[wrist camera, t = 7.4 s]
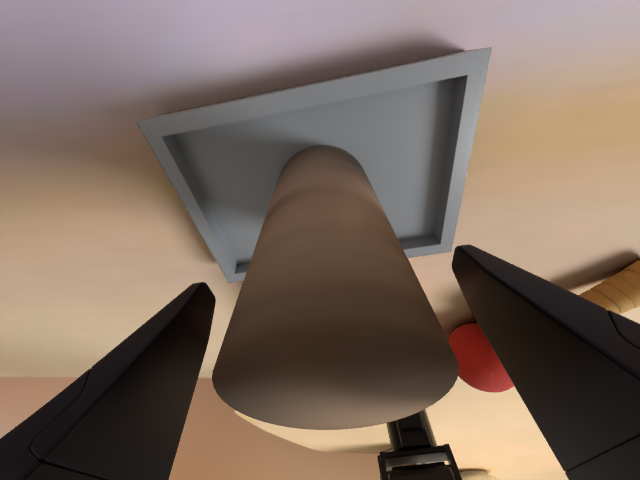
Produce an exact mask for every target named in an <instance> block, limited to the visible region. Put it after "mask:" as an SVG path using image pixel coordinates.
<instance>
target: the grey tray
mask: <svg viewBox="0 0 640 480" xmlns="http://www.w3.org/2000/svg"><path fill="white" fill-rule="evenodd" d="M491 49H492V47H491V48H484V49H476V50H468V51H463V52H458V53H453V54H448V55H444V56H439V57H434V58H429V59H425V60H420V61H415V62H410V63H406V64H401V65H396V66H391V67H387V68H382V69H377V70H372V71H368V72H363V73H358V74H353V75H349V76H344V77H339V78H334V79H330V80H325V81H320V82H315V83H311V84H306V85H301V86H296V87H292V88H287V89H282V90H278V91H273V92H268V93H263V94H259V95H254V96H249V97H244V98H240V99H235V100H230V101H225V102H221V103H216V104H211V105H206V106H202V107H197V108H192V109H187V110H183V111H178V112H173V113H168V114H164V115H159V116H155V117H152V118H149V119H145V120H142V121H138V122H136V123H137V124H138V126H139V128H140V129H141V131H142V133H143V135H144V136H145V138H146V140H147V142H148V143H149V145H150V147H151V149H152V150H153V152H154V154H155V156H156V157H157V159H158V161H159V163H160V164H161V166H162V168H163V169H164V171H165V173H166V175H167V176H168V178H169V180H170V182H171V183H172V185H173V187H174V189H175V190H176V192H177V194H178V196H179V197H180V199H181V201H182V203H183V204H184V206H185V208H186V209H187V211H188V213H189V215H190V216H191V218H192V220H193V222H194V223H195V225H196V227H197V229H198V230H199V232H200V234H201V236H202V237H203V239H204V241H205V242H206V244H207V246H208V248H209V249H210V251H211V253H212V255H213V256H214V258H215V260H216V262H217V263H218V265H219V267H220V269H221V270H222V272H223V274H224V276H225V277H226V279H227V281H228V282H229V283H233V282H240V281H244V279H245V276H246V273H247V270H248V267H249V264H250V261H251V258H252V255H253V252H254V249H255V246H256V243H257V240H258V237H259V234H260V231H261V229H262V226H263V223H264V220H265V217H266V214H267V211H268V208H269V205H270V202H271V199H272V196H273V193H274V190H275V187H276V184H277V181H278V179H279V176H280V173H281V171H282V169H283V167H284V165H285V164H286V163H287V161H288V160H289V159H290V158H291V157H292V156H294V155H295V154H296V153H298V152H299V151H301V150H303V149H306V148H308V147H312V146H318V145H329V146H335V147H338V148H341V149H343V150H345V151H347V152H348V153H350V154H351V155H353V156H354V157H355V158H356V159H357V160H358V161H359V163H360V164H361V166H362V167H363V169H364V171H365V173H366V175H367V177H368V179H369V181H370V183H371V185H372V187H373V189H374V191H375V193H376V195H377V197H378V200H379V202H380V204H381V206H382V208H383V210H384V212H385V214H386V216H387V218H388V220H389V222H390V224H391V226H392V228H393V230H394V232H395V234H396V236H397V238H398V240H399V242H400V244H401V246H402V248H403V250H404V252H405V254H406V256H407V258H411V257H418V256H425V255H432V254H439V253H446V252H451V250H452V245H453V240H454V235H455V230H456V225H457V220H458V215H459V210H460V205H461V200H462V195H463V190H464V185H465V180H466V175H467V170H468V165H469V160H470V155H471V150H472V145H473V140H474V135H475V130H476V125H477V120H478V114H479V109H480V104H481V99H482V94H483V89H484V84H485V79H486V74H487V69H488V64H489V59H490V54H491Z"/></svg>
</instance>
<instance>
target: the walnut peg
mask: <svg viewBox="0 0 640 480" xmlns="http://www.w3.org/2000/svg"><path fill="white" fill-rule="evenodd" d="M458 372H459V367H458V361H457V359H456V356H455V354H454V352H453V350H452V348H451V346H450V344H449V342H448V340H447V338H446V336H445V334H444V332H443V330H442V327H441V325H440V323H439V321H438V319H437V317H436V315H435V313H434V311H433V309H432V307H431V305H430V303H429V301H428V299H427V297H426V295H425V293H424V291H423V289H422V287H421V285H420V283H419V281H418V279H417V277H416V275H415V273H414V271H413V269H412V267H411V265H410V262H409V260H408V258H407V256H406V254H405V252H404V250H403V248H402V246H401V244H400V242H399V240H398V238H397V236H396V234H395V232H394V230H393V228H392V226H391V224H390V222H389V220H388V218H387V216H386V214H385V212H384V210H383V208H382V206H381V204H380V202H379V200H378V197H377V195H376V193H375V191H374V189H373V187H372V185H371V183H370V181H369V179H368V177H367V175H366V173H365V171H364V169H363V167H362V166H361V164H360V163H359V161H358V160H357V159H356V158H355V157H354V156H353V155H351V154H350V153H348V152H347V151H345V150H343V149H341V148H338V147H335V146H329V145H318V146H312V147H308V148H306V149H303V150H301V151H299V152H298V153H296V154H295V155H294V156H292V157H291V158H290V159H289V160H288V161H287V163H286V164H285V165H284V167H283V169H282V171H281V173H280V176H279V179H278V181H277V184H276V187H275V190H274V193H273V196H272V199H271V202H270V205H269V208H268V211H267V214H266V217H265V220H264V223H263V226H262V229H261V231H260V234H259V237H258V240H257V243H256V246H255V249H254V252H253V255H252V258H251V261H250V264H249V267H248V270H247V273H246V276H245V279H244V281H243V284H242V287H241V290H240V293H239V296H238V299H237V302H236V305H235V308H234V311H233V314H232V317H231V320H230V323H229V326H228V328H227V331H226V334H225V337H224V340H223V343H222V346H221V349H220V352H219V355H218V358H217V361H216V364H215V367H214V370H213V375H212V381H213V385H214V388H215V390H216V392H217V394H218V395H219V396H220V397H221V399H222V400H223V401H224V402H226V403H227V404H228V405H229V406H230V407H232V408H234V409H235V410H237V411H239V412H241V413H243V414H245V415H247V416H249V417H252V418H254V419H257V420H260V421H263V422H267V423H271V424H275V425H280V426H285V427H292V428H300V429H314V430H338V429H352V428H361V427H368V426H374V425H379V424H383V423H387V422H391V421H395V420H398V419H401V418H405V417H407V416H410V415H413V414H415V413H417V412H419V411H422V410H424V409H426V408H427V407H429V406H431V405H433V404H434V403H436V402H437V401H438V400H440V399H441V398H442V397H443V396H445V395H446V394H447V393H448V392H449V391H450V389H451V388H452V387H453V385H454V384H455V382H456V380H457V377H458Z"/></svg>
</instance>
